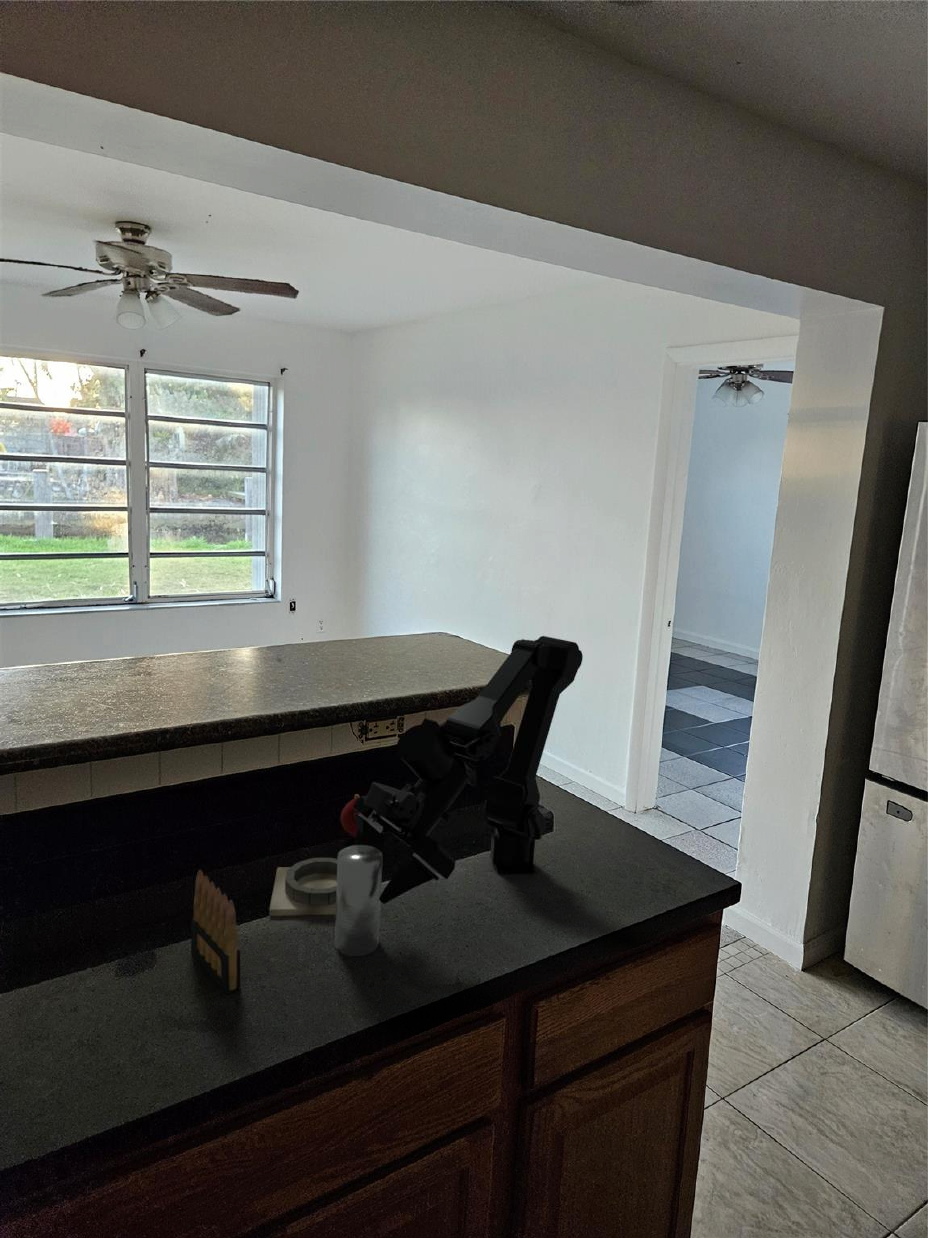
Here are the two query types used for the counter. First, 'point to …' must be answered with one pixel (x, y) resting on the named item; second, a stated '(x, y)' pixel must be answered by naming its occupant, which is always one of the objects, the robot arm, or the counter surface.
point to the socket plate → (296, 908)
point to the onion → (350, 817)
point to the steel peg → (358, 900)
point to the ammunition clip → (215, 934)
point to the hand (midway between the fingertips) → (363, 886)
